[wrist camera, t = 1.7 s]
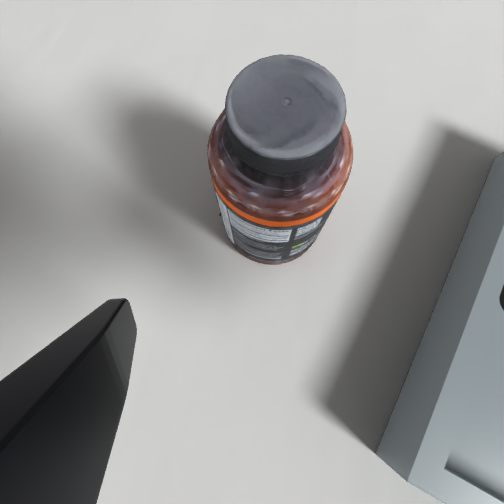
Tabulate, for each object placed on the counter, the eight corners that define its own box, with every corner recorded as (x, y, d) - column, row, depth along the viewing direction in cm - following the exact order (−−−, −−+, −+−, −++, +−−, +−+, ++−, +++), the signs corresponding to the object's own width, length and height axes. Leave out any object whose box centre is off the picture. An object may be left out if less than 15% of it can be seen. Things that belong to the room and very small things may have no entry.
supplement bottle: (257, 163, 23) (259, 0, 12) (335, 208, 22) (412, 76, 11) (205, 235, 22) (158, 124, 11) (286, 286, 21) (322, 220, 10)
